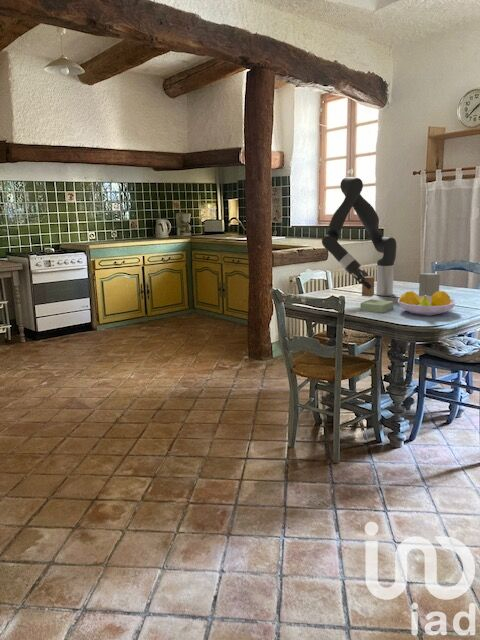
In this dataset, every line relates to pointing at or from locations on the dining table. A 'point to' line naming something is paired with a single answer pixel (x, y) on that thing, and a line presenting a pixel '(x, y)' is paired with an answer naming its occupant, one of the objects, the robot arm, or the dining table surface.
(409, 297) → the fruit bowl
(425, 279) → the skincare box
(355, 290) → the dining table surface
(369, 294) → the walnut block
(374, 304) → the sage platform block
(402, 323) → the dining table surface
